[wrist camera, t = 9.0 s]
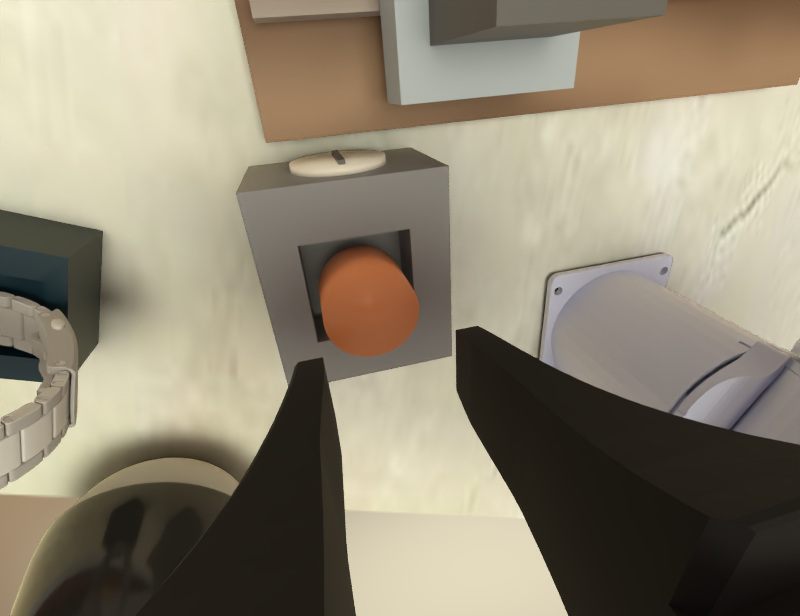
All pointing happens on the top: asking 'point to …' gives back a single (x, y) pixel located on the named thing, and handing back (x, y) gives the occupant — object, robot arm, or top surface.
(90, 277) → the watch
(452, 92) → the carriage
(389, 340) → the button
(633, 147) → the top surface
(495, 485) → the top surface
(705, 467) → the robot arm
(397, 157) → the gauge cabinet
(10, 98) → the top surface
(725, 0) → the rail track
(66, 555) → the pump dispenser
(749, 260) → the top surface
